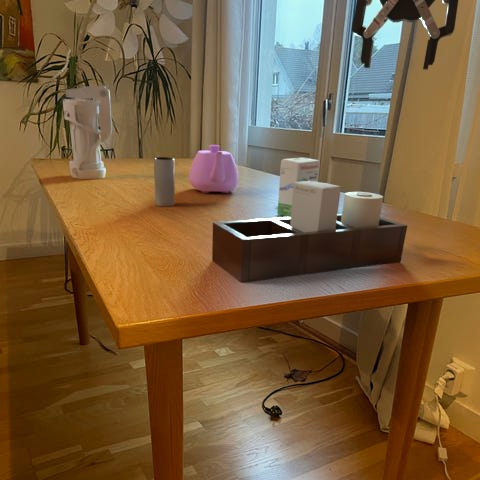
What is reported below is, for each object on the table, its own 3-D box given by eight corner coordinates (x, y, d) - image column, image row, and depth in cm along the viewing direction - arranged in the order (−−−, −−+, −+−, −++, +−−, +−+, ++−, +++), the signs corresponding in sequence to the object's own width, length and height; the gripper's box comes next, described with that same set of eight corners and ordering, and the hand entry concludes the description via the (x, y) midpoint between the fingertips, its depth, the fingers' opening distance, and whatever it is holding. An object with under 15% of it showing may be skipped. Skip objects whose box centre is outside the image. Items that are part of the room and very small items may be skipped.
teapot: (186, 184, 138) (186, 141, 133) (232, 185, 140) (233, 142, 135) (193, 197, 120) (193, 148, 115) (245, 198, 122) (247, 149, 117)
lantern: (68, 179, 138) (58, 83, 128) (72, 173, 148) (63, 84, 137) (114, 179, 141) (108, 85, 130) (115, 174, 150) (109, 86, 140)
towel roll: (374, 253, 81) (384, 193, 77) (371, 263, 76) (382, 199, 71) (339, 249, 83) (347, 189, 78) (334, 258, 77) (342, 195, 73)
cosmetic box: (285, 258, 76) (292, 181, 71) (304, 254, 79) (311, 180, 74) (314, 268, 72) (323, 188, 67) (332, 264, 75) (342, 185, 70)
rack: (359, 245, 85) (364, 211, 83) (400, 262, 77) (407, 225, 75) (211, 260, 74) (212, 222, 71) (240, 282, 65) (242, 239, 63)
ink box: (294, 218, 103) (299, 161, 98) (276, 214, 106) (280, 159, 101) (315, 213, 109) (321, 159, 104) (298, 209, 112) (302, 157, 107)
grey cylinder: (154, 206, 109) (152, 159, 104) (156, 202, 113) (155, 156, 109) (173, 206, 109) (173, 159, 105) (175, 202, 113) (174, 157, 109)
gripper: (360, -71, 64) (344, 65, 71) (475, -78, 60) (447, 67, 66) (366, -55, 70) (351, 69, 77) (470, -60, 66) (445, 71, 73)
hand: (395, 68), depth 72 cm, fingers open, 8 cm apart
